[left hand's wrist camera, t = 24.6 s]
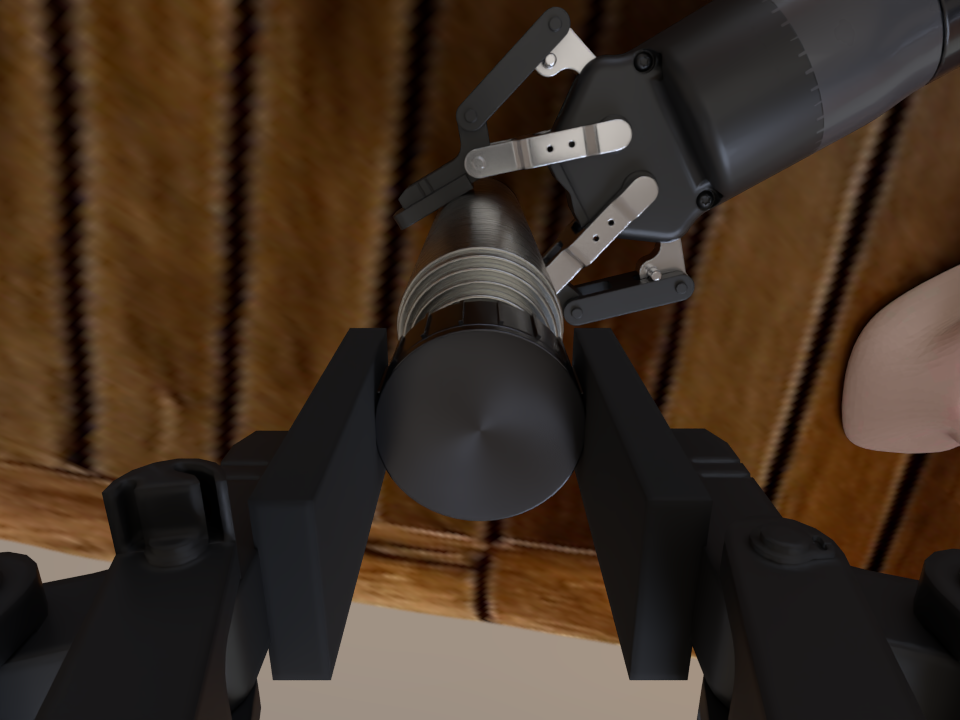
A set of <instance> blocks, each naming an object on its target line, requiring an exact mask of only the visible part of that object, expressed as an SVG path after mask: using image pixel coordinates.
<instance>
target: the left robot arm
mask: <svg viewBox="0 0 960 720" xmlns="http://www.w3.org/2000/svg"><path fill="white" fill-rule="evenodd" d="M386 366H388V353H387V333H386V328H350V329H349V331H348V332H347V334H346V336H345V337H344V339H343V341H342V342H341V344H340V346H339V347H338V349H337V351H336V352H335V354H334V356H333V358H332V359H331V361H330V363H329V364H328V366H327V368H326V369H325V371H324V373H323V374H322V376H321V378H320V379H319V381H318V383H317V384H316V386H315V388H314V390H313V391H312V393H311V395H310V396H309V398H308V400H307V401H306V403H305V405H304V406H303V408H302V410H301V411H300V413H299V415H298V416H297V418H296V420H295V422H294V423H293V425H292V427H291V428H290V430H289V431H255V432H254V433H252V434H251V435H249V436H247V437H246V438H244V439H243V440H241V441H239V442H238V443H236V444H235V445H233V447H232V448H231V449H230V451H229V452H228V453H227V455H226V456H225V457H224V459H223V460H222V462H221V466H219V465H218V464H217V463H215V462H211V461H207V460H202V459H173V460H167V461H161V462H156V463H152V464H149V465H146V466H143V467H140V468H138V469H135V470H132V471H130V472H128V473H127V474H125V475H123V476H121V477H119V478H118V479H116V480H114V481H113V482H112V483H111V484H110V485H109V486H108V487H107V488H106V489H105V490H104V491H103V492H102V495H103V500H104V504H105V509H106V513H107V517H108V522H109V526H110V530H111V535H112V539H113V544H114V548H115V552H116V556H115V558H114V560H113V562H112V564H111V566H110V568H109V569H108V570H104V571H101V572H96V573H93V574H87V575H82V576H77V577H72V578H67V579H62V580H57V581H52V582H47V583H42V581H41V577H40V574H39V570H38V567H37V564H36V563H35V562H34V561H33V560H32V559H31V558H30V557H28V556H27V555H23V554H18V553H12V552H1V553H0V720H259V719H260V711H261V704H260V697H259V690H258V683H257V676H258V674H259V671H260V668H261V666H262V663H263V661H264V658H265V656H266V653H267V651H268V649H269V656H270V663H271V669H272V677H273V680H331V677H332V674H333V670H334V666H335V662H336V658H337V654H338V651H339V647H340V643H341V639H342V635H343V631H344V628H345V624H346V620H347V616H348V612H349V608H350V605H351V601H352V597H353V593H354V589H355V585H356V582H357V578H358V574H359V570H360V566H361V563H362V559H363V555H364V551H365V547H366V543H367V540H368V536H369V532H370V528H371V524H372V520H373V517H374V513H375V509H376V505H377V501H378V497H379V494H380V490H381V486H382V482H383V478H384V474H385V471H386V469H385V467H384V465H383V463H382V460H381V458H380V456H379V453H378V450H377V446H376V432H375V407H376V403H377V400H378V396H377V390H378V387H379V385H380V382H381V379H382V376H383V374H384V371H385V368H386ZM572 367H574V368H575V371H576V374H577V377H578V379H579V382H580V385H581V388H582V390H583V397H582V398H583V401H584V404H585V410H586V422H585V438H584V448H583V452H582V455H581V457H580V459H579V462H578V464H577V466H576V468H575V473H576V477H577V480H578V484H579V488H580V492H581V496H582V500H583V503H584V507H585V511H586V515H587V519H588V523H589V526H590V530H591V534H592V538H593V542H594V546H595V549H596V553H597V557H598V561H599V565H600V568H601V572H602V576H603V580H604V584H605V588H606V591H607V595H608V599H609V603H610V607H611V611H612V614H613V618H614V622H615V626H616V630H617V634H618V637H619V641H620V645H621V649H622V653H623V656H624V660H625V664H626V668H627V672H628V675H629V679H630V680H688V673H689V666H690V659H691V652H692V646H693V649H694V651H695V654H696V656H697V659H698V661H699V664H700V666H701V669H702V671H703V674H704V677H703V683H702V689H701V696H700V703H699V709H698V716H697V720H960V549H949V550H943V551H937V552H934V553H933V554H932V555H930V556H929V557H928V558H927V559H926V560H925V562H924V565H923V569H922V572H921V576H920V579H919V580H914V579H909V578H904V577H899V576H894V575H889V574H883V573H878V572H873V571H868V570H864V569H861V568H857V567H853V566H850V565H849V563H848V560H847V558H846V556H845V554H844V553H843V552H842V551H841V549H840V548H839V547H838V546H837V544H836V543H835V542H834V541H833V540H832V539H830V538H829V537H827V536H826V535H824V534H823V533H821V532H820V531H818V530H817V529H815V528H813V527H810V526H808V525H805V524H803V523H800V522H798V521H795V520H792V519H787V518H783V517H782V516H781V515H780V513H779V512H778V511H777V509H776V508H775V507H774V505H773V504H772V503H771V501H770V500H769V499H768V497H767V496H766V495H765V493H764V492H763V490H762V489H761V488H760V486H759V485H758V484H757V482H756V481H755V480H754V478H753V477H750V473H749V472H748V470H747V469H746V467H745V466H744V465H743V463H740V459H739V458H738V457H737V455H736V454H735V453H734V451H733V450H732V449H731V447H730V446H729V445H728V443H727V442H725V441H723V440H722V439H720V438H719V437H717V436H715V435H714V434H712V433H711V432H709V431H707V430H706V429H670V427H669V426H668V424H667V422H666V421H665V419H664V417H663V416H662V414H661V412H660V411H659V409H658V407H657V406H656V404H655V402H654V401H653V399H652V397H651V395H650V394H649V392H648V390H647V389H646V387H645V385H644V384H643V382H642V380H641V379H640V377H639V375H638V374H637V372H636V370H635V369H634V367H633V365H632V363H631V362H630V360H629V358H628V357H627V355H626V353H625V352H624V350H623V348H622V347H621V345H620V343H619V342H618V340H617V338H616V337H615V335H614V333H613V332H612V330H611V328H574V342H573V361H572Z"/></svg>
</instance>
